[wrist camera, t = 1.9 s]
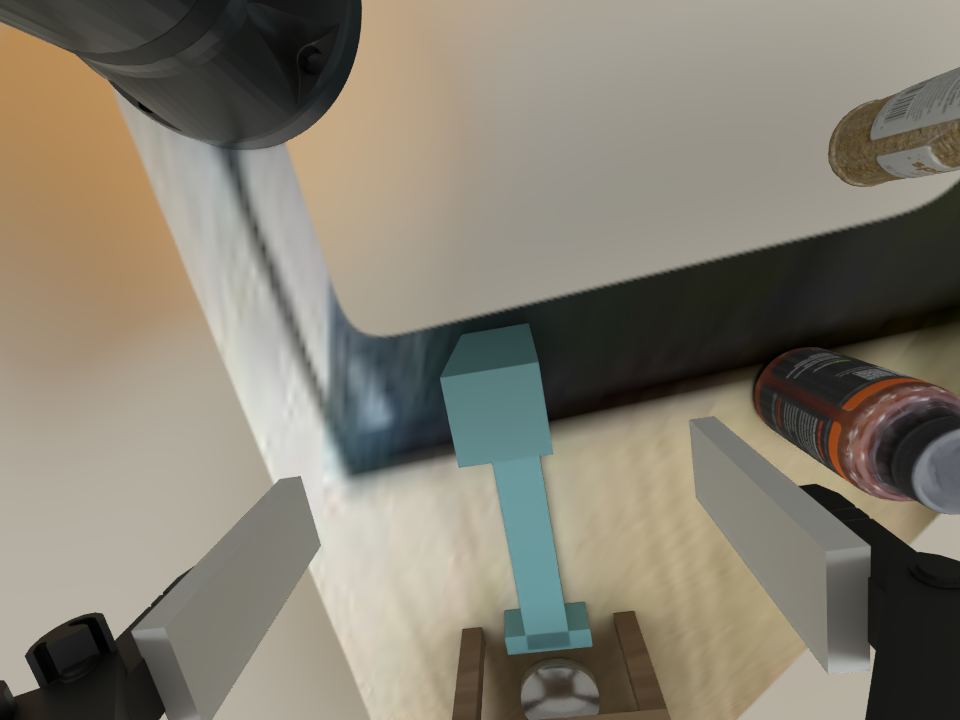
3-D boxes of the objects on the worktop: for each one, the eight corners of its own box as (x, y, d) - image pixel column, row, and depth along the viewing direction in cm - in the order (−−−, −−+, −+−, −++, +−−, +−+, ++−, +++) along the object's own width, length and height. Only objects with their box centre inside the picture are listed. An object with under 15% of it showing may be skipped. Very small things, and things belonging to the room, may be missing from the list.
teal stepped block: (449, 336, 31) (422, 380, 21) (541, 321, 30) (557, 359, 20) (508, 627, 36) (508, 769, 26) (586, 618, 35) (616, 761, 26)
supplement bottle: (785, 450, 31) (935, 563, 20) (730, 386, 30) (857, 468, 19) (866, 392, 30) (1074, 480, 19) (812, 324, 29) (996, 375, 18)
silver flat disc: (514, 657, 37) (515, 675, 35) (591, 650, 36) (595, 667, 35) (526, 717, 38) (527, 736, 37) (601, 711, 38) (604, 729, 36)
